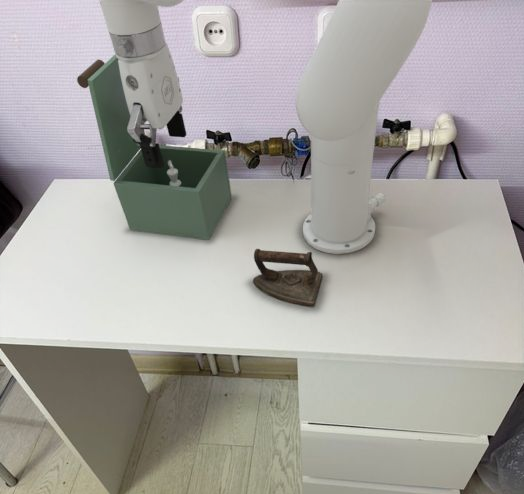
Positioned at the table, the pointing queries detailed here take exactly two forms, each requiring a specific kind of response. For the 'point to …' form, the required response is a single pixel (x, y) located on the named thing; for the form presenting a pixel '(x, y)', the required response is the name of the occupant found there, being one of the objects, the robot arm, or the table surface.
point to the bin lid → (110, 113)
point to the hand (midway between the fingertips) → (167, 150)
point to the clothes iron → (288, 277)
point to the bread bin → (176, 193)
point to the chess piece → (173, 175)
